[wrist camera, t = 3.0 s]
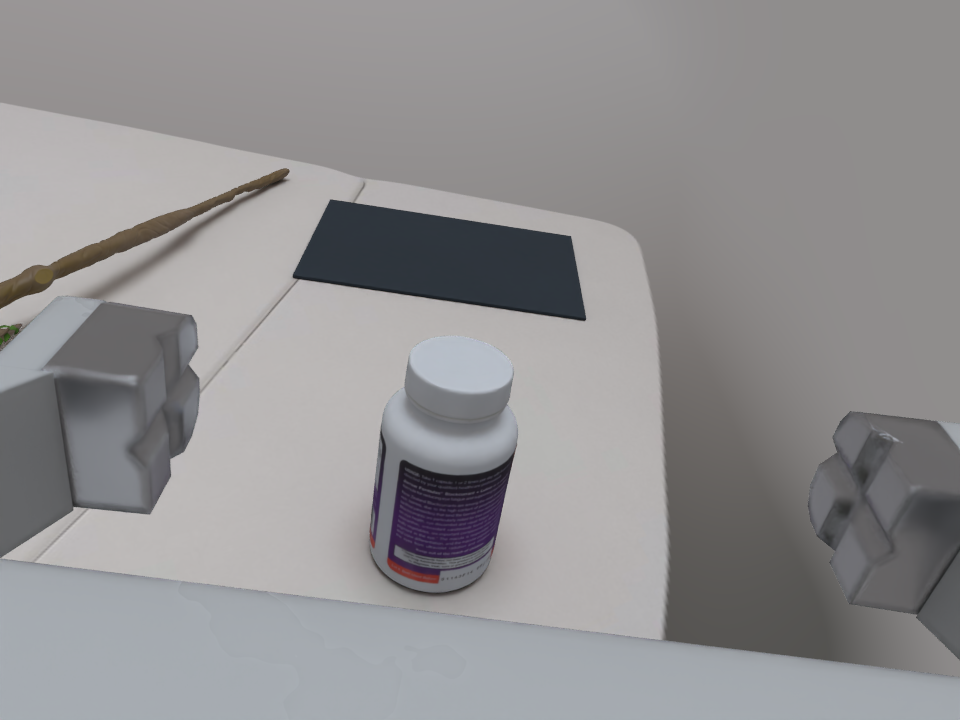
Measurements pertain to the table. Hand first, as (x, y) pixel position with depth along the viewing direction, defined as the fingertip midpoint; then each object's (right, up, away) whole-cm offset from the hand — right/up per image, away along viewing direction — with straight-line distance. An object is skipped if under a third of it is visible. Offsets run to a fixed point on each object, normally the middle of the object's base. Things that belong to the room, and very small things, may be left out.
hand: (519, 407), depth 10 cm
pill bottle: (-3, -8, +25) cm, 26 cm away
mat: (-3, +8, +50) cm, 51 cm away
